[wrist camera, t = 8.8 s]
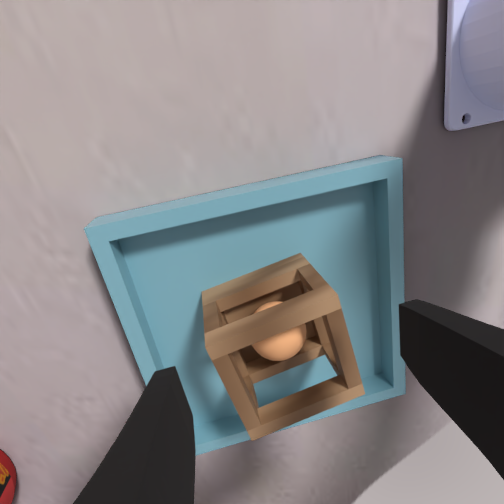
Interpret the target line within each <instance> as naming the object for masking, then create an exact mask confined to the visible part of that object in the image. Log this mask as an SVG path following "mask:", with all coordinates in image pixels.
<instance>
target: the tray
mask: <svg viewBox="0 0 504 504" xmlns="http://www.w3.org/2000/svg"><path fill="white" fill-rule="evenodd" d="M84 230H85V233H86V235H87V238H88V240H89V243H90V245H91V248H92V250H93V253H94V256H95V258H96V261H97V263H98V266H99V268H100V271H101V273H102V276H103V278H104V281H105V283H106V286H107V288H108V291H109V293H110V296H111V298H112V301H113V303H114V306H115V309H116V311H117V314H118V316H119V319H120V321H121V324H122V326H123V329H124V331H125V334H126V336H127V339H128V341H129V344H130V346H131V349H132V351H133V354H134V357H135V359H136V362H137V364H138V367H139V369H140V372H141V374H142V377H143V379H144V382H145V384H146V386H147V384H148V382H149V381H150V379H151V377H152V375H153V374H154V372H155V371H158V370H162V369H165V368H169V367H172V366H175V367H176V370H177V372H178V375H179V378H180V381H181V384H182V386H183V389H184V392H185V395H186V397H187V400H188V403H189V406H190V409H191V411H192V414H193V421H194V434H195V449H196V454H195V456H196V455H199V454H203V453H206V452H210V451H213V450H216V449H220V448H223V447H227V446H230V445H233V444H237V443H240V442H244V441H247V440H250V439H251V438H250V436H249V434H248V432H247V430H246V428H245V426H244V424H243V422H242V420H241V418H240V416H239V414H238V412H237V410H236V408H235V406H234V404H233V402H232V400H231V398H230V396H229V394H228V392H227V390H226V388H225V386H224V384H223V382H222V380H221V378H220V376H219V374H218V372H217V370H216V368H215V366H214V364H213V362H212V360H211V358H210V356H209V354H208V352H207V350H206V348H205V336H204V321H203V305H202V291H204V290H207V289H210V288H212V287H215V286H217V285H220V284H222V283H225V282H227V281H230V280H232V279H235V278H237V277H240V276H242V275H245V274H248V273H250V272H253V271H255V270H258V269H260V268H263V267H265V266H268V265H270V264H273V263H275V262H278V261H280V260H283V259H286V258H288V257H291V256H293V255H296V254H298V253H301V254H302V255H303V256H304V257H305V258H306V259H307V261H308V262H309V263H310V264H311V265H312V266H313V267H314V268H315V270H316V271H317V272H318V273H319V274H320V275H321V276H322V277H323V278H324V280H325V281H326V282H327V283H328V284H329V285H330V286H331V287H332V289H333V290H334V291H335V292H336V293H337V294H338V297H339V300H340V304H341V308H342V311H343V315H344V319H345V322H346V326H347V329H348V333H349V337H350V340H351V344H352V348H353V351H354V355H355V358H356V362H357V366H358V369H359V373H360V377H361V380H362V384H363V387H364V391H365V394H364V395H362V396H360V397H357V398H355V399H352V400H350V401H348V402H345V403H343V404H340V405H338V406H336V407H333V408H331V409H328V410H326V411H323V412H321V413H319V414H316V415H314V416H311V417H309V418H307V419H304V420H302V421H299V422H297V423H295V424H292V425H290V426H287V427H285V428H283V429H280V430H278V431H281V430H284V429H288V428H291V427H295V426H298V425H301V424H305V423H308V422H312V421H315V420H318V419H322V418H325V417H329V416H332V415H335V414H339V413H342V412H346V411H349V410H352V409H356V408H359V407H363V406H366V405H369V404H373V403H376V402H380V401H383V400H386V399H390V398H393V397H397V396H400V395H403V394H406V385H405V362H404V360H403V359H402V357H401V356H400V332H399V304H401V303H404V236H403V162H402V158H398V157H391V156H383V155H379V156H374V157H369V158H365V159H360V160H356V161H351V162H347V163H342V164H338V165H333V166H328V167H324V168H319V169H315V170H310V171H306V172H301V173H297V174H292V175H287V176H283V177H278V178H274V179H269V180H265V181H260V182H256V183H251V184H246V185H242V186H237V187H233V188H228V189H224V190H219V191H214V192H210V193H205V194H201V195H196V196H192V197H187V198H183V199H178V200H173V201H169V202H164V203H160V204H155V205H151V206H146V207H142V208H137V209H132V210H128V211H123V212H119V213H114V214H110V215H105V216H100V217H96V218H95V219H94V220H93V221H92V222H91V223H89V224H88V225H87V226H86V227H85V228H84ZM335 376H337V374H336V372H335V371H334V369H333V367H332V366H331V364H330V362H329V361H328V359H327V357H326V356H325V355H323V356H321V357H318V358H316V359H313V360H311V361H308V362H306V363H303V364H301V365H299V366H296V367H294V368H291V369H289V370H286V371H284V372H281V373H279V374H276V375H274V376H272V377H269V378H267V379H264V380H262V381H259V382H257V383H254V384H253V385H254V389H255V393H256V397H257V401H258V405H259V408H260V407H262V406H265V405H267V404H270V403H272V402H274V401H277V400H279V399H282V398H284V397H287V396H289V395H291V394H294V393H296V392H299V391H301V390H304V389H306V388H308V387H311V386H313V385H316V384H318V383H321V382H323V381H325V380H328V379H330V378H333V377H335ZM278 431H275V432H278ZM273 433H274V432H273ZM270 434H271V433H270Z"/></svg>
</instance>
